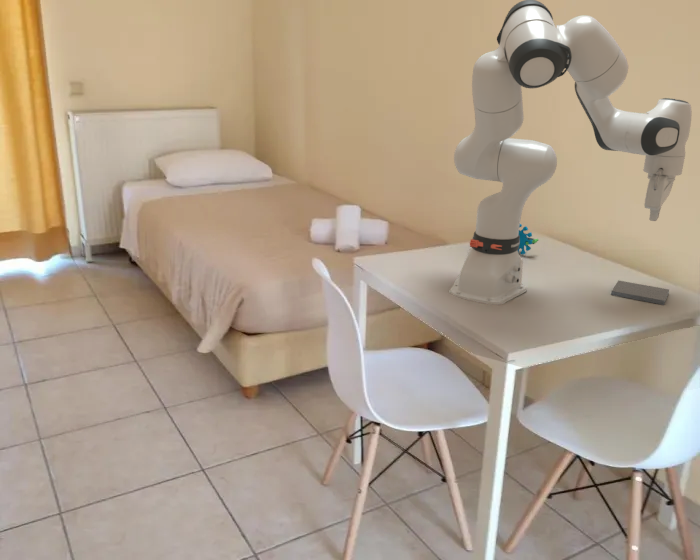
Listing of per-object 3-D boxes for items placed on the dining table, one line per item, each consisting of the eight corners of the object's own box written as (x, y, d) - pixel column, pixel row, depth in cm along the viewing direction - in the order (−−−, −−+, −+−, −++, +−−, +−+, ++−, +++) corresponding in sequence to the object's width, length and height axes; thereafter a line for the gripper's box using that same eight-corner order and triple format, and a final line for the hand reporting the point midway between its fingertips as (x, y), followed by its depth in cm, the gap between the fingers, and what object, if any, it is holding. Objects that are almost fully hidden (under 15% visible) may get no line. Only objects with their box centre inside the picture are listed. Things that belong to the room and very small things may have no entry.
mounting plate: (664, 305, 170) (664, 300, 170) (610, 295, 176) (611, 290, 176) (668, 293, 178) (669, 289, 178) (617, 284, 184) (618, 280, 184)
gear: (500, 252, 210) (503, 221, 207) (509, 248, 215) (513, 218, 211) (532, 259, 203) (535, 227, 200) (541, 255, 208) (545, 224, 204)
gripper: (672, 173, 156) (661, 230, 160) (681, 161, 172) (671, 213, 177) (643, 170, 159) (634, 226, 163) (655, 158, 175) (646, 210, 180)
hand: (653, 219), depth 170 cm, fingers closed
